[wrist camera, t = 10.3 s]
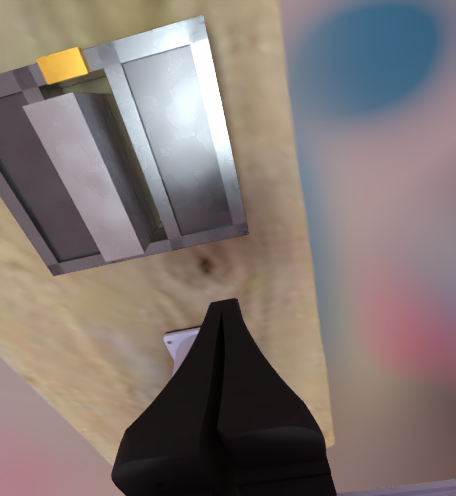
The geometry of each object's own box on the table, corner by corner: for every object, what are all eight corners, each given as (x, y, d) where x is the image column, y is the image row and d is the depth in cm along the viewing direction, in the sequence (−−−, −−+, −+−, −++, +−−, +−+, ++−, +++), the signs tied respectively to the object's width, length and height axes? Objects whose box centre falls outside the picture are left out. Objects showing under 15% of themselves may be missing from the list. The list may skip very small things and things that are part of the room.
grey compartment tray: (246, 220, 22) (249, 236, 20) (68, 259, 24) (50, 279, 21) (204, 24, 16) (202, 10, 13) (-33, 92, 17) (-77, 91, 15)
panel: (162, 217, 22) (144, 253, 17) (132, 224, 22) (105, 262, 17) (116, 94, 18) (72, 92, 13) (80, 104, 18) (22, 106, 13)
